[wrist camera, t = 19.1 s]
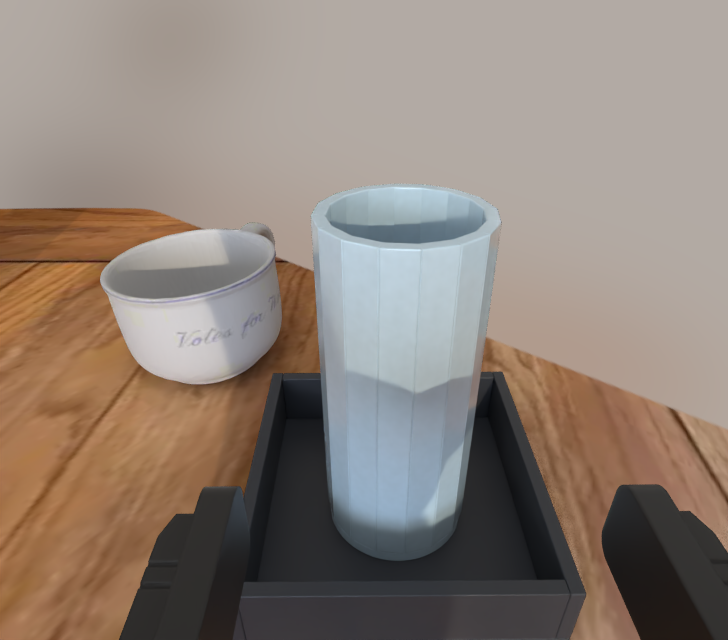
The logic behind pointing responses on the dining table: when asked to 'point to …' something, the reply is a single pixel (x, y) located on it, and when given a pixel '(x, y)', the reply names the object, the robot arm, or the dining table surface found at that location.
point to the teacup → (198, 302)
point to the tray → (411, 577)
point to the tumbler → (401, 357)
